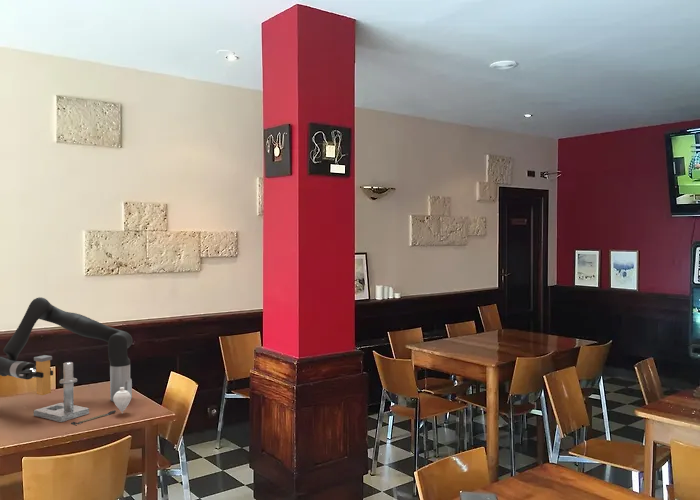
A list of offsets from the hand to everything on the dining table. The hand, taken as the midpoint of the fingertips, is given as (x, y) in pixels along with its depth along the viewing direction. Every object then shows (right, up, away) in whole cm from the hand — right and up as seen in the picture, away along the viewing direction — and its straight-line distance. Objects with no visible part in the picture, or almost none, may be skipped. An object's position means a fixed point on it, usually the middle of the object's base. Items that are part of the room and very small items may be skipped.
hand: (47, 374), depth 260 cm
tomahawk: (+22, -20, 0) cm, 30 cm away
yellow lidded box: (-2, -9, +1) cm, 9 cm away
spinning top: (+30, -20, +7) cm, 37 cm away
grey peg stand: (+3, -19, +6) cm, 21 cm away
